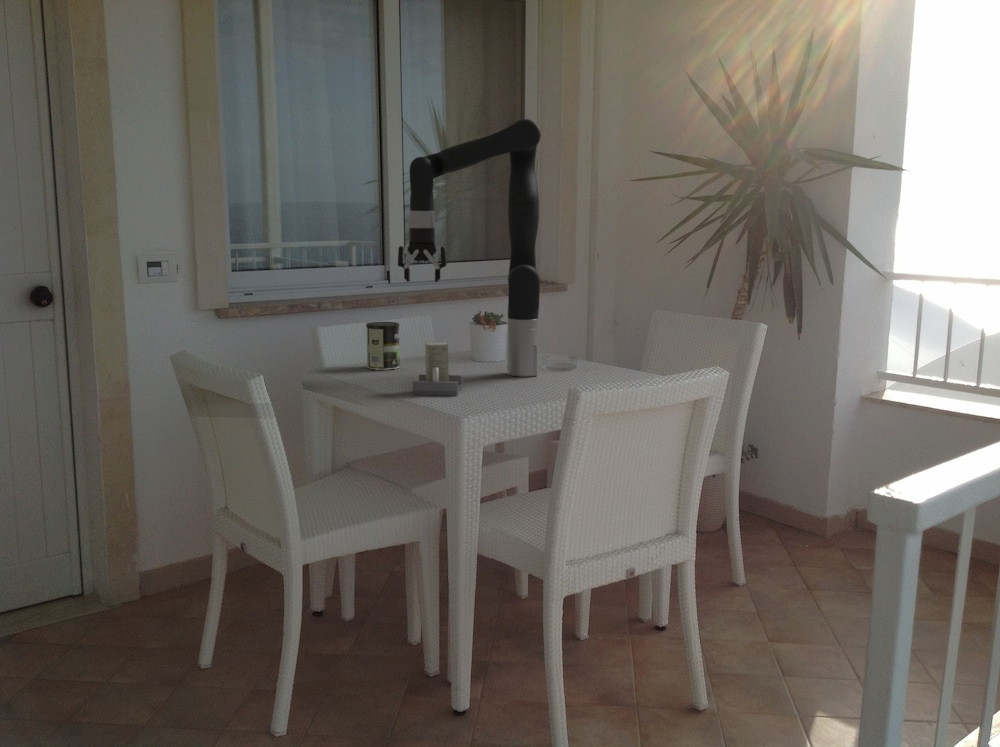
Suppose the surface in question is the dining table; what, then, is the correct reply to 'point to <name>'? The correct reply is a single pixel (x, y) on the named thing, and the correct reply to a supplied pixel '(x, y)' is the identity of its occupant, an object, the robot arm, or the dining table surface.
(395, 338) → the coffee can
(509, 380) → the dining table surface
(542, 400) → the dining table surface
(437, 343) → the skincare box
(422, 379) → the tray
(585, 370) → the dining table surface
